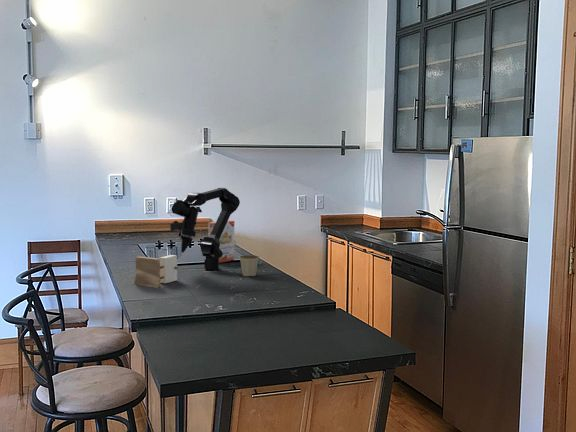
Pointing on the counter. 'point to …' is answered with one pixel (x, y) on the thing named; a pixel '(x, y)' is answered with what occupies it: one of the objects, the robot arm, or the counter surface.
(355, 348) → the counter surface
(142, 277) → the cabinet corner
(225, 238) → the cracker box
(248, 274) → the flower pot
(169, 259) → the door panel
